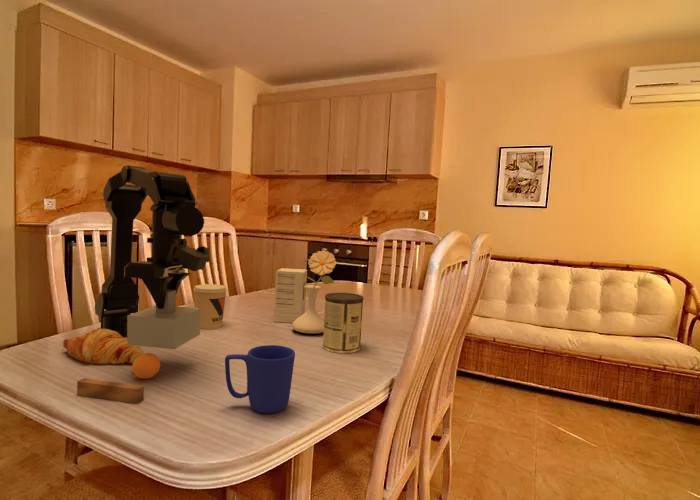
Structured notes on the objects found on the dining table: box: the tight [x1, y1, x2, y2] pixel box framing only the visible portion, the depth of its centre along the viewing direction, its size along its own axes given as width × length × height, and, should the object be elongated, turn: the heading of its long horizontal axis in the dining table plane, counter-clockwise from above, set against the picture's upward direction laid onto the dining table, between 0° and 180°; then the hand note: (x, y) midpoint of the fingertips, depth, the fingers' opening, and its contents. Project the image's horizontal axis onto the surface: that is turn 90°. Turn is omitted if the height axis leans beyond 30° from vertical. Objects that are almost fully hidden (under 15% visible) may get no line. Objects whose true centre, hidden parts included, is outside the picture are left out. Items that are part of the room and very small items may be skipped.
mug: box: [224, 344, 296, 414], centre depth 72 cm, size 8×12×10 cm
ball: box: [131, 352, 161, 380], centre depth 82 cm, size 5×5×5 cm
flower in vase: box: [291, 250, 337, 335], centre depth 122 cm, size 13×11×25 cm
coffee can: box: [322, 292, 364, 354], centre depth 109 cm, size 10×10×14 cm
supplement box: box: [273, 267, 308, 324], centre depth 136 cm, size 10×9×17 cm
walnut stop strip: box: [76, 377, 145, 404], centre depth 72 cm, size 12×2×2 cm, turn 81°
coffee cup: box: [193, 283, 227, 330], centre depth 123 cm, size 9×9×12 cm
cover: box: [127, 289, 201, 350], centre depth 86 cm, size 10×10×10 cm
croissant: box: [62, 327, 145, 365], centre depth 91 cm, size 21×10×8 cm, turn 78°
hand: (165, 307), depth 86 cm, fingers closed on cover, 3 cm apart
